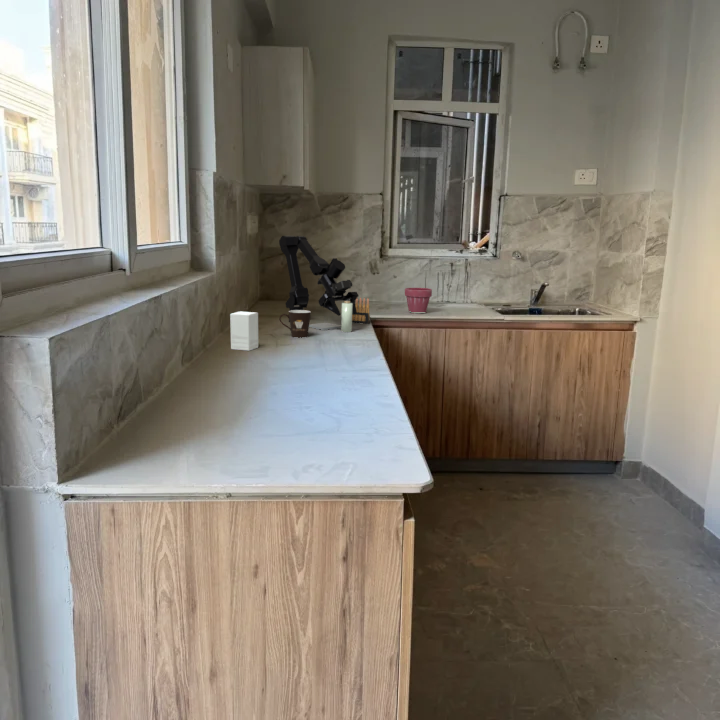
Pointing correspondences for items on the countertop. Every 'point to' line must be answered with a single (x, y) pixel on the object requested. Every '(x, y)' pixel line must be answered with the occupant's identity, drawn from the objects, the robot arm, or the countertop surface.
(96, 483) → the countertop surface
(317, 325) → the slate trivet
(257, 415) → the countertop surface
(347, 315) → the stoneware bottle
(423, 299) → the plant pot
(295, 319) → the coffee mug
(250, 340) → the supplement box
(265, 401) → the countertop surface
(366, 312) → the ammunition clip
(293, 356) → the countertop surface
